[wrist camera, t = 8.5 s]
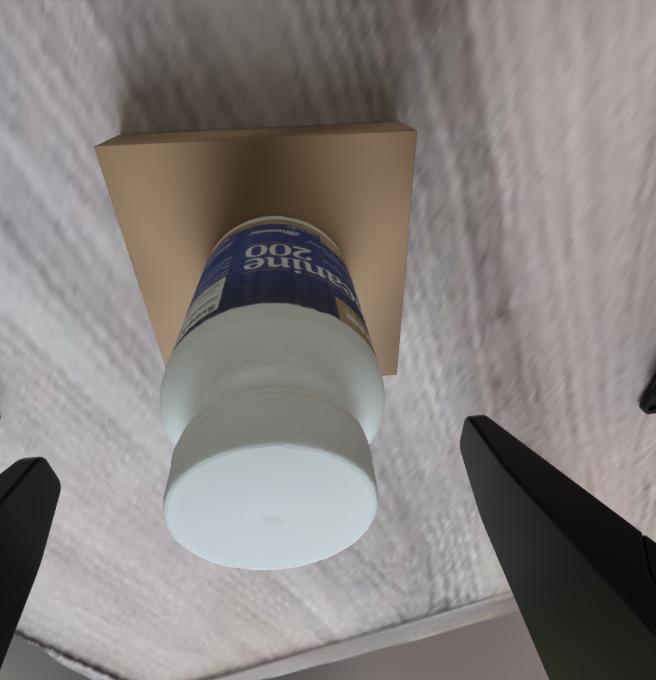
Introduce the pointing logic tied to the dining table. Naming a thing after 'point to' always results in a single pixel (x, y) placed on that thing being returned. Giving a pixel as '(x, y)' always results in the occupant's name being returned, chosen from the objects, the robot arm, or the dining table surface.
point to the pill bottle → (272, 403)
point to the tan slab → (265, 208)
